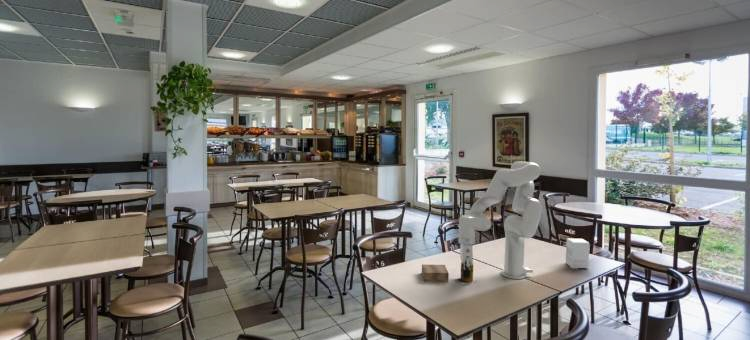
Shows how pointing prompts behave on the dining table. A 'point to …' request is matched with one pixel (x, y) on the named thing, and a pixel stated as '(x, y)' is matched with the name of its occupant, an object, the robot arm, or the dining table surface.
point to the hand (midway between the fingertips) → (465, 274)
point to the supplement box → (577, 253)
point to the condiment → (466, 280)
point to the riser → (435, 273)
